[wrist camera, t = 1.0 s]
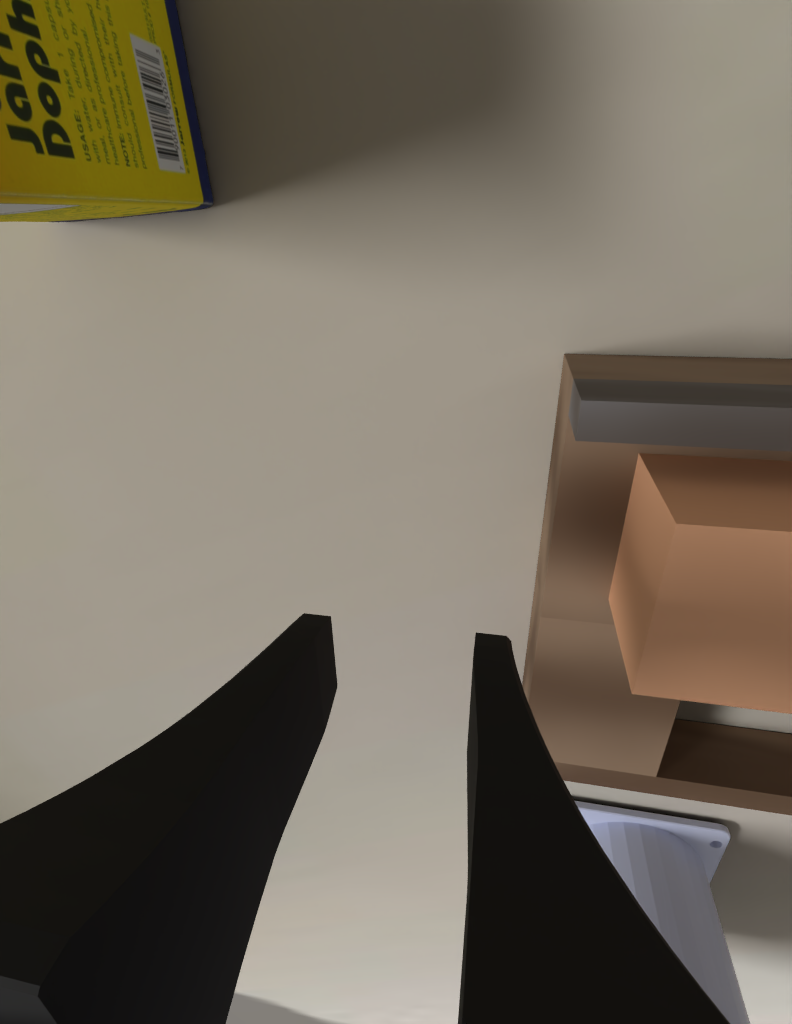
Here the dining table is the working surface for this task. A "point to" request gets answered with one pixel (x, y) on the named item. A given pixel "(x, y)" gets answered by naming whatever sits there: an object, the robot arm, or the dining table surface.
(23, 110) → the supplement box
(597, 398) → the deck
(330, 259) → the dining table surface
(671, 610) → the block
